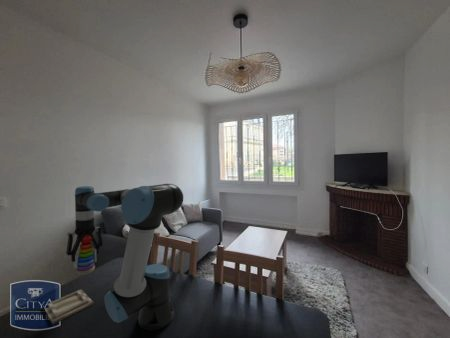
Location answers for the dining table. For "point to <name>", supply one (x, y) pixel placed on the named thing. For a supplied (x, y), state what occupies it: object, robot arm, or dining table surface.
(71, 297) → the rectangular beige tray
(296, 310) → the dining table surface
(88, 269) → the stacking toy
